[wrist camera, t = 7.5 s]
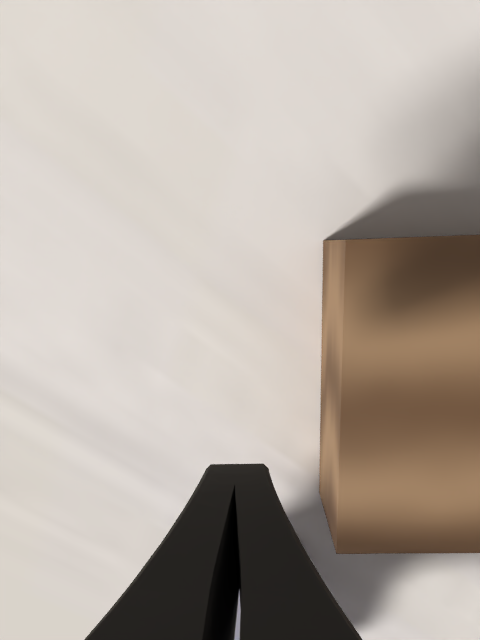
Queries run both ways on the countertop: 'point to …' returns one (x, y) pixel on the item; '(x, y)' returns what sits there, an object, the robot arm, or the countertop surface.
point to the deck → (401, 394)
